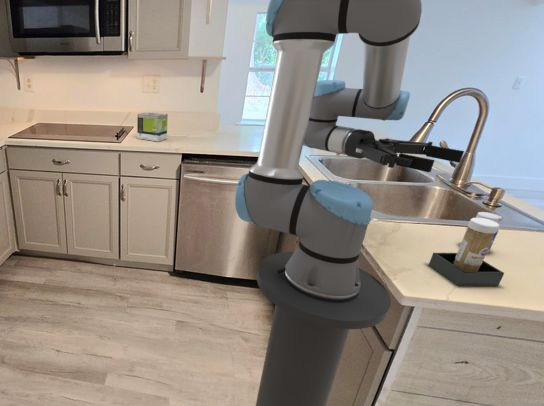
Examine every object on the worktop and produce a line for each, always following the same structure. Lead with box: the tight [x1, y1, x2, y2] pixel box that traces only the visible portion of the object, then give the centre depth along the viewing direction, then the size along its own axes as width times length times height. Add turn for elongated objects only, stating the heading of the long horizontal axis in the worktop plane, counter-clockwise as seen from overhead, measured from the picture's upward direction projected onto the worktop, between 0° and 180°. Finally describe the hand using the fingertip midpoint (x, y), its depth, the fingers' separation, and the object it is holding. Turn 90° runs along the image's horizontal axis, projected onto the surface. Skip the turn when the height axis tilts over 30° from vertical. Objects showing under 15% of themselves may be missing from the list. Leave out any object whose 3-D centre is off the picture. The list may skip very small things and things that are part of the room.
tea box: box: [136, 111, 169, 142], centre depth 213 cm, size 15×10×15 cm
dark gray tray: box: [428, 252, 505, 287], centre depth 84 cm, size 8×8×4 cm
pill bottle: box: [460, 211, 501, 254], centre depth 93 cm, size 5×5×10 cm
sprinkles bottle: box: [453, 217, 500, 272], centre depth 82 cm, size 5×5×14 cm
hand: (447, 161), depth 83 cm, fingers open, 13 cm apart
